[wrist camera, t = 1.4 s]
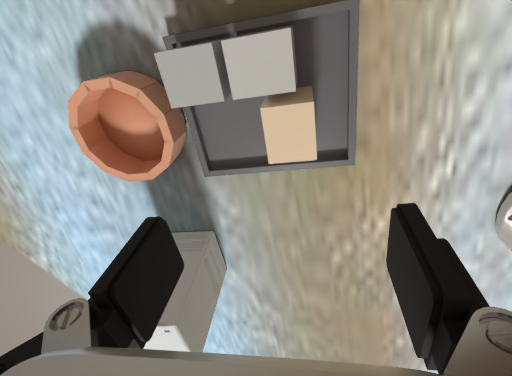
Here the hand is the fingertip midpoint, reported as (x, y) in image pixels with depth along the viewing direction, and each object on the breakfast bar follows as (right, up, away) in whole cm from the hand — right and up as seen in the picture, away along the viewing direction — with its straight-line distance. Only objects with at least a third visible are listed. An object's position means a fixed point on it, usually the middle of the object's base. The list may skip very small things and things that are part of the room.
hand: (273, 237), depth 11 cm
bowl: (-12, +9, +16) cm, 22 cm away
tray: (0, +10, +13) cm, 16 cm away
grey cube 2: (-5, +12, +12) cm, 18 cm away
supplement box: (-9, -6, +25) cm, 28 cm away
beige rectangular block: (+3, +9, +13) cm, 16 cm away
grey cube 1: (0, +13, +11) cm, 17 cm away
